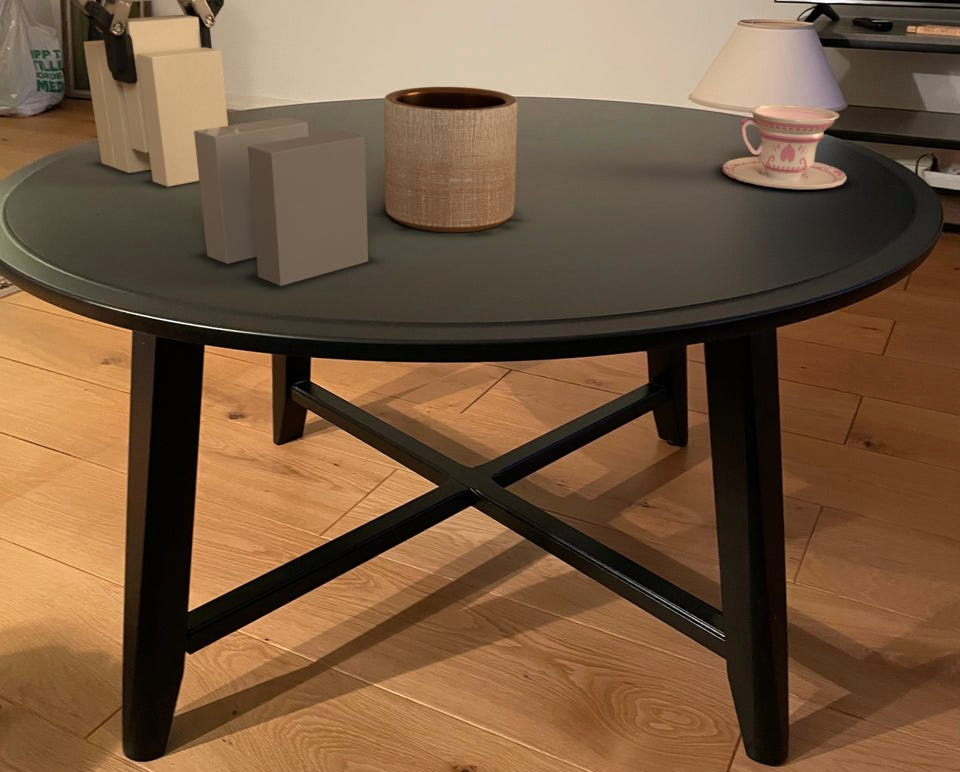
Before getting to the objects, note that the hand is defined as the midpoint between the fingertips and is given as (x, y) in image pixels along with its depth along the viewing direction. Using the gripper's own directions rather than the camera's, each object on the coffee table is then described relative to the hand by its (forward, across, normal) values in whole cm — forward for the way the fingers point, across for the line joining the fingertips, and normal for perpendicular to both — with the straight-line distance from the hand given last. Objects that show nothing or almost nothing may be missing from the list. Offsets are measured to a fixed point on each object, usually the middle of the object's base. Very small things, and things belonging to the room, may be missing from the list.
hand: (163, 75), depth 93 cm
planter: (+9, -9, +28) cm, 31 cm away
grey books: (+9, +8, +28) cm, 30 cm away
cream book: (+6, 0, 0) cm, 6 cm away
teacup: (+9, -44, +40) cm, 60 cm away
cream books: (+9, 0, -1) cm, 9 cm away
